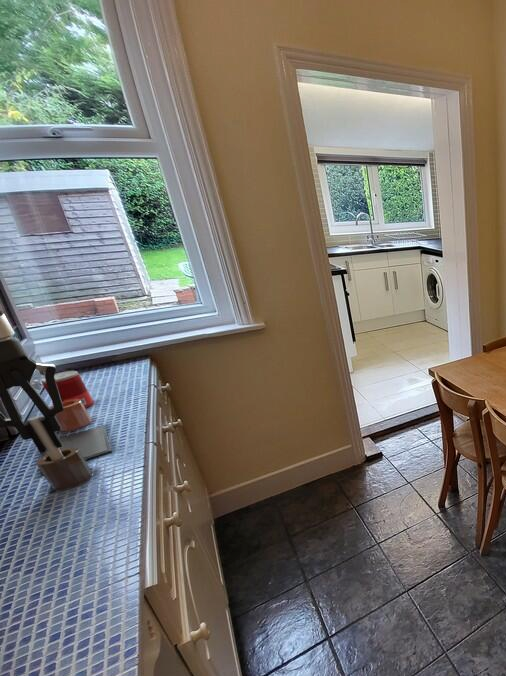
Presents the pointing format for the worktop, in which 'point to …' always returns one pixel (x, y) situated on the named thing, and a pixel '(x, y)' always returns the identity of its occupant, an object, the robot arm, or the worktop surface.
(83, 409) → the pen holder
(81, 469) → the stand
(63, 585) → the worktop surface
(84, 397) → the canned food
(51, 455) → the cream long square bar
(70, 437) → the tablet
